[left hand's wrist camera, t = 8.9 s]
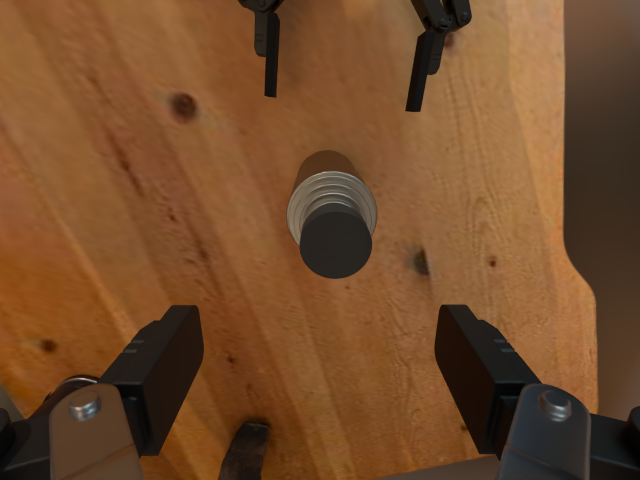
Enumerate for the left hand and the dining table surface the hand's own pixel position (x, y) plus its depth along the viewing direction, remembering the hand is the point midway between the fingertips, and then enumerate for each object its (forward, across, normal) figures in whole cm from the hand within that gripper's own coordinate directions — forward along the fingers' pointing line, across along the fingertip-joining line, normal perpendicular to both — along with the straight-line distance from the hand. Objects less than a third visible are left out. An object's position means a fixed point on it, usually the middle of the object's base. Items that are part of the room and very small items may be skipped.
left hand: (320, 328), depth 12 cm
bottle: (+32, +1, -1) cm, 32 cm away
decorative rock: (+31, -12, -43) cm, 55 cm away
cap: (+10, +1, -1) cm, 10 cm away
